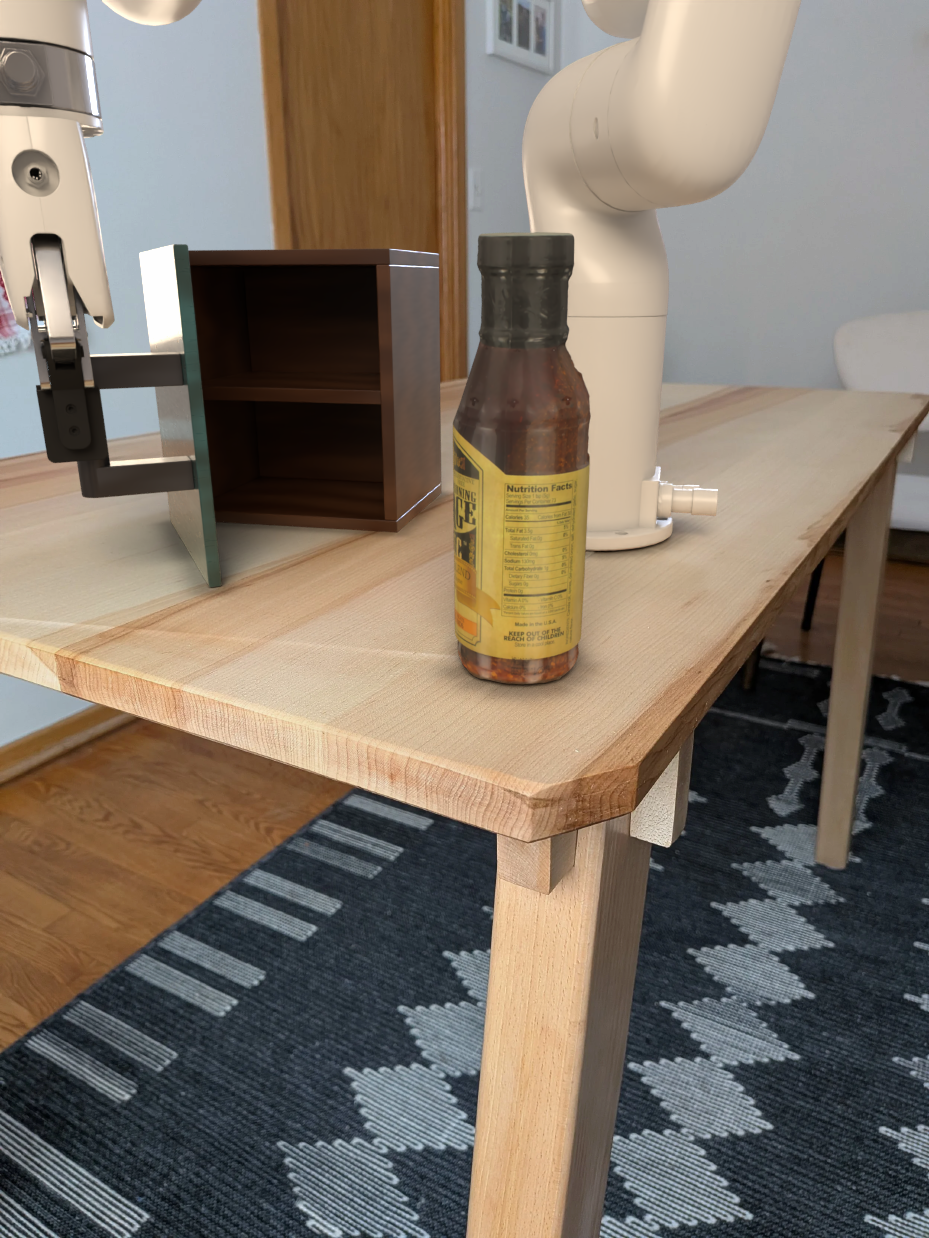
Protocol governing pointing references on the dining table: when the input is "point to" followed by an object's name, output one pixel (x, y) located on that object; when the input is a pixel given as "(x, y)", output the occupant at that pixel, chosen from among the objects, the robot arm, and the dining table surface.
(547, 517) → the sauce bottle
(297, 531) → the dining table surface
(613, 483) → the robot arm
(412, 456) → the cupboard
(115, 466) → the cupboard door
